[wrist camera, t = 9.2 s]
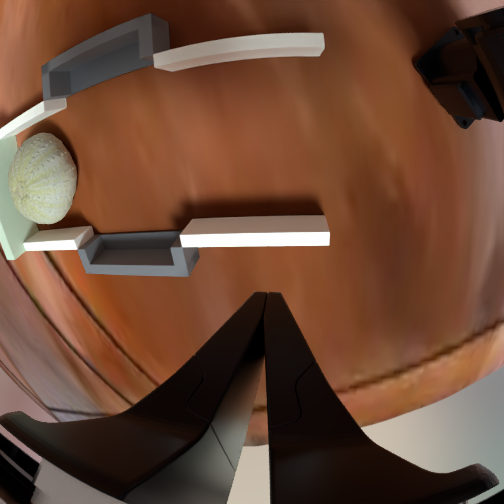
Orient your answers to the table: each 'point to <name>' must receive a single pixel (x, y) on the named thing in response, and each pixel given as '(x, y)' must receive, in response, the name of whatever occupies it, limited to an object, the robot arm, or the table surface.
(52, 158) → the sea urchin shell
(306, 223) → the trap lane
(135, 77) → the table surface
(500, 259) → the table surface
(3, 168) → the end block
